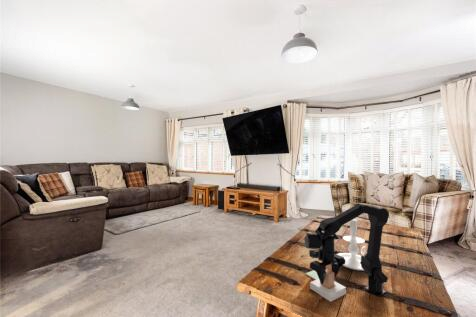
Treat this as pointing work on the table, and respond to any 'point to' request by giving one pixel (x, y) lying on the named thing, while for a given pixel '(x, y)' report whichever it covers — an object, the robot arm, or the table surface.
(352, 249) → the candlestick
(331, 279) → the plug
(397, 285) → the table surface
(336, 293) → the white square frame
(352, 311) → the table surface
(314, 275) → the pad
